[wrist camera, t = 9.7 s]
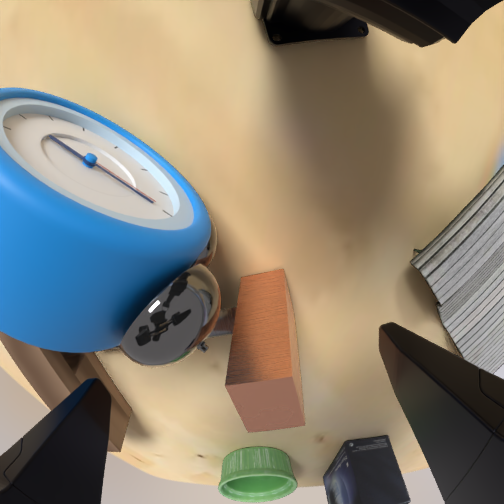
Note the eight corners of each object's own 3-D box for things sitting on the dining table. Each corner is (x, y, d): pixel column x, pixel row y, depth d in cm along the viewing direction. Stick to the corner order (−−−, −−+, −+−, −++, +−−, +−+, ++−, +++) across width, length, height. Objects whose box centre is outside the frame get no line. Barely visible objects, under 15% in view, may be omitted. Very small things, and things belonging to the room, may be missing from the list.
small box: (341, 439, 32) (362, 513, 22) (389, 433, 32) (414, 499, 22) (319, 477, 36) (332, 538, 26) (361, 471, 36) (377, 528, 27)
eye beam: (33, 227, 20) (-9, 256, 15) (131, 409, 28) (120, 451, 23) (2, 239, 20) (-37, 268, 15) (100, 410, 28) (87, 450, 23)
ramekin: (285, 474, 35) (289, 501, 31) (217, 474, 34) (217, 501, 30) (299, 441, 31) (305, 473, 27) (219, 441, 30) (219, 474, 26)
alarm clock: (57, 83, 16) (236, 203, 21) (19, 161, 17) (184, 270, 23) (-93, 92, 4) (269, 338, 9) (-114, 237, 6) (170, 428, 11)
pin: (283, 268, 22) (292, 376, 13) (294, 314, 23) (305, 425, 14) (88, 306, 24) (29, 388, 15) (108, 342, 26) (62, 427, 17)
